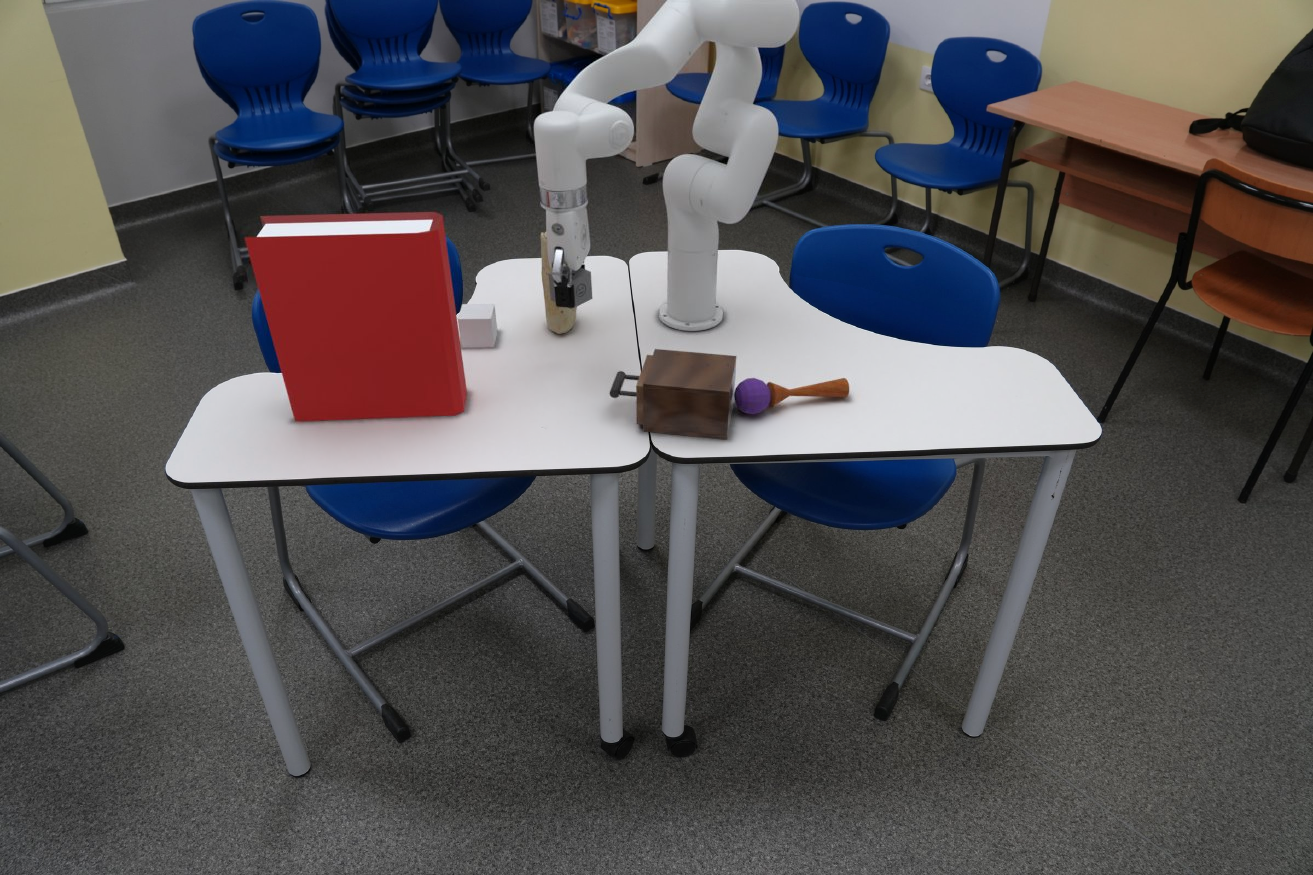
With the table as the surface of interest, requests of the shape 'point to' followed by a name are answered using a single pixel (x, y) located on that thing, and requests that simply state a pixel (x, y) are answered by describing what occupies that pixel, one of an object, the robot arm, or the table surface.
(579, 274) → the dice cube
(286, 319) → the book
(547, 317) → the food model
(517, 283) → the table surface
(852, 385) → the table surface
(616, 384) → the drawer
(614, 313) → the table surface
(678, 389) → the cabinet
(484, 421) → the table surface
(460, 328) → the white cube
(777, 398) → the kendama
